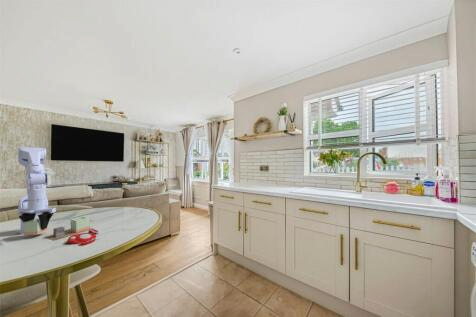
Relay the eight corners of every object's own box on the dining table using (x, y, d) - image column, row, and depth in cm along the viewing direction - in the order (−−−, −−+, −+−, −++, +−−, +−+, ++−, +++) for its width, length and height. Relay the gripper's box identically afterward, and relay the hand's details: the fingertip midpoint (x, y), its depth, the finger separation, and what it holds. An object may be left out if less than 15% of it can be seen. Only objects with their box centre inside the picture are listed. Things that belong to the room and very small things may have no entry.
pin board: (43, 239, 81) (43, 229, 82) (83, 228, 95) (83, 219, 95) (53, 242, 77) (53, 232, 77) (94, 230, 91) (94, 221, 91)
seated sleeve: (70, 230, 88) (70, 219, 89) (83, 227, 94) (83, 216, 94) (76, 232, 86) (76, 220, 86) (90, 228, 91) (89, 217, 91)
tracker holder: (96, 241, 76) (64, 241, 71) (93, 250, 76) (62, 251, 71) (101, 226, 86) (74, 225, 81) (98, 234, 87) (71, 234, 81)
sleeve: (23, 234, 80) (23, 222, 80) (36, 230, 86) (36, 218, 86) (37, 234, 81) (37, 221, 81) (49, 229, 86) (49, 218, 86)
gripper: (9, 201, 79) (9, 233, 79) (45, 200, 80) (45, 231, 80) (27, 198, 86) (26, 227, 86) (60, 197, 87) (59, 225, 87)
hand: (36, 229), depth 83 cm, fingers closed on sleeve, 5 cm apart
